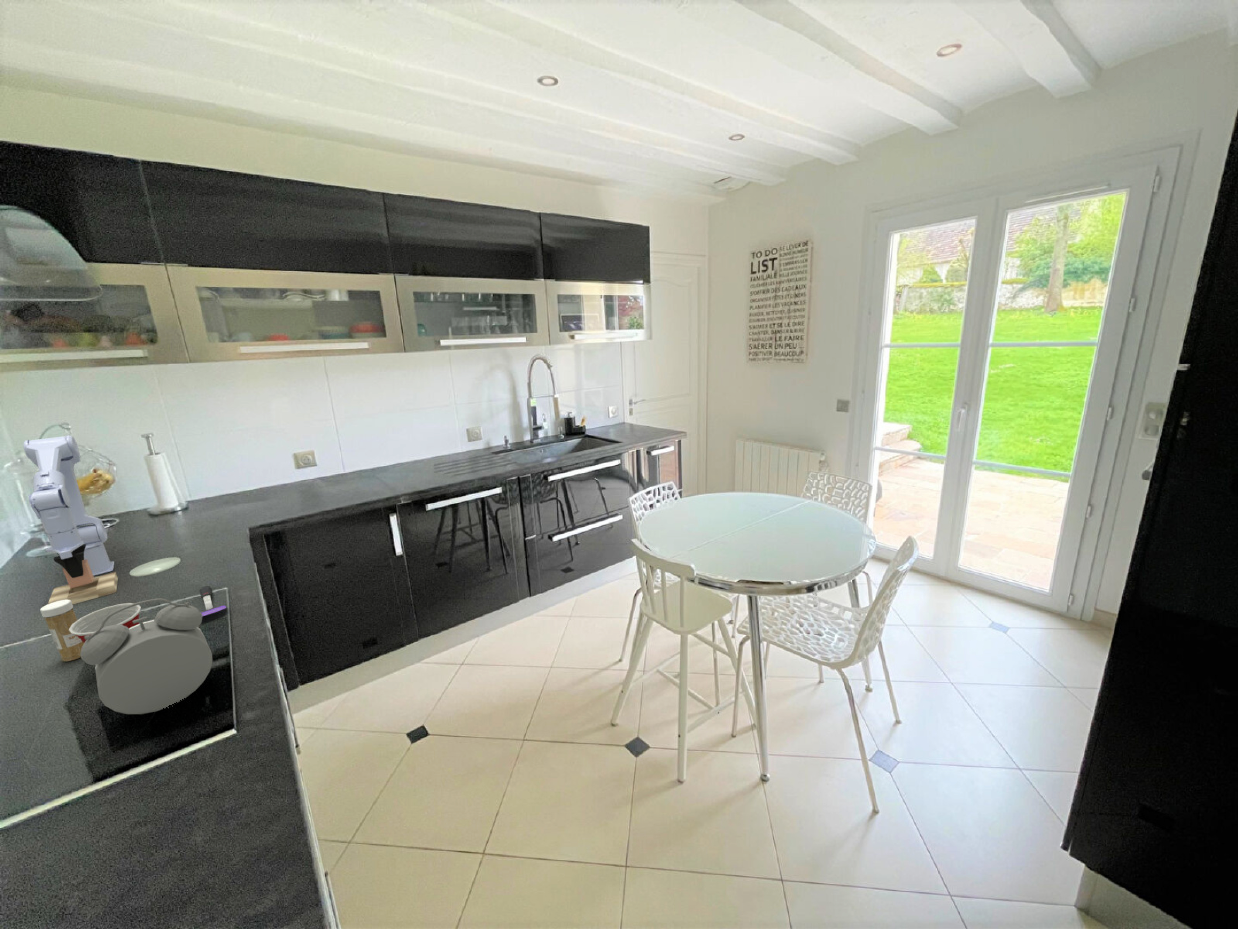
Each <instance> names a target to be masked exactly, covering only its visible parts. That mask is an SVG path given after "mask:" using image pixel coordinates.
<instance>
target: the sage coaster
mask: <svg viewBox="0 0 1238 929" xmlns="http://www.w3.org/2000/svg"><path fill="white" fill-rule="evenodd" d="M180 563H181V558H179V557H177V556H175V557H165V558H160V559H155V560H152V561H148V562H146V563H143V564H140V565H138V566H136V567H134V568H132V569H131V570H130V571H129V575H130V577H135V578H136V577H137V578H138V577H139V578H140V577H144V576H146V577H147V576H152V575H155V574H159V573H162V572H165V571H167V570H170V569H172V568H174V567H176V566H178V565H180Z"/></svg>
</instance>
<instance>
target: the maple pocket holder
mask: <svg viewBox="0 0 1238 929" xmlns="http://www.w3.org/2000/svg"><path fill="white" fill-rule="evenodd" d="M117 575H118V574H117V572H116V571H114V572H110V573H107V574H106V573H105V574H101V575H100V576H99V575H98V576H94V579H93V582H92V583H89V584H85V585H81V586H77V587H74V588H70V586H69V584H68V583H67V584H65V585H61V586H57V587H54V588H53V589H52V592H51V594H50V595H51V596H50V598H49V600H48V603H47V605H48V604H50V603H53V602H56V601H60V600H70V601H71V602H72V605H73V606H74V605H75V604H76V605H77V604H79V603H83V602H86V601H90V600H94V599H97V598H100V597H104V596H108V595H111V594H115V593H117V590H118V588H117V587H118V583H119V577H118V576H117Z"/></svg>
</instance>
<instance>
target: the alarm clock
mask: <svg viewBox="0 0 1238 929" xmlns="http://www.w3.org/2000/svg"><path fill="white" fill-rule="evenodd" d="M159 601H160V602H164V603H167V604H169V605H168V606H165V607H163V608H161V609H160V610H159V611H158V612H157V613H156V615H155V617H154V619H151V620H148V616H143V617H141V618H140V617H139V619H137V620H134V621H133V624H135V623H138V622H139V624H138V625H136V626H133V627H131V628H128V627H126V626H123V625H117V624H116V625H111V626H106V627H104V625H105V622H106V621H107V620H108V619H109V618H110V617H111V616H113V615H114V614H116V613H118V612H121V611H123V610H125V609H128V608H130V607H133V606H136V605H139V606H140V605H142V604H143V605H144V604H148V603H152V602H153V603H154V602H159ZM201 613H202V612H201V611H200V610H199V608H197V607H195V606H193V605H190V601H187V602H184V603H176V602H172V601H171V600H169V599H166V598H165V599H164V598H162V597H161V598H160V597H159V598H151V599H146V600H142V601H138V602H134V604H131V605H128V606H126V607H123V608H121V609H119V610H117V611H115V612H113V613H111V614H109V615H108V616H107V617H106V618H105V619H104V620H103V622H102V624H101V626H100V628H99V629H98V630H97V631H96V632H94V633H93V634H92V635H91V636H90V635H88V636H85V637H84V638H85V639H86V641H85V643H84V644H83V646H82V649H81V654H80V655H81V657H80V658H81V660H82V662H85V664H88V665H89V666H90V665H91V666H95V667H94V668H95V669H94V670H95V676H96V677H95V679H96V686H97V694H98V698H99V699H100V701H101V702H102V704H103V705H104V706H105V707H106V708H109V709H110V710H112V711H114V712H115V713H120V714H125V715H145V714H149V713H153V712H158V711H161V710H163V708H164V709H167V708H169V707H168V706H169V705H172V704H174V703H176V702H177V703H179V702H181V701H183V700H185V699H186V698H187V697H189V696H190V695H192V693H194V692H196V690H197V689H198V688H199V687H200V686H201V685H202V684H203V683H204V681H205V680H206V678H207V676H209V673H210V672H211V668H212V665H213V652H212V651H211V648H210V646H209V643H208V642H207V639H206V637H205V635H204V633H203V632H202V630H201V628H199V627H200V626H201V624H202V621H203V616H202V614H201ZM146 620H148V621H146ZM103 627H104V628H103ZM184 698H185V699H184ZM182 699H183V700H182ZM180 700H181V701H180ZM177 703H176V704H177ZM174 705H175V704H174ZM172 706H173V705H172ZM166 707H167V708H166Z"/></svg>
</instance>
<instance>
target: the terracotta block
mask: <svg viewBox="0 0 1238 929" xmlns="http://www.w3.org/2000/svg"><path fill="white" fill-rule="evenodd" d="M82 565H83V576H79V577H75V578H72V577H71V576H70V575H69V574H68V572H67V571H66V570H65V569H64V568H63V567H62V572H63V573H64V577H65V578H66V581H67V585H68V584H69V586H70V588H74V587H77V586H81V585H85V584H89V583H92V582H93V579H94V578H95V576H93V574H92V571H91V569H90V566H89V563H88V561H87V559H86V560H82Z"/></svg>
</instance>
